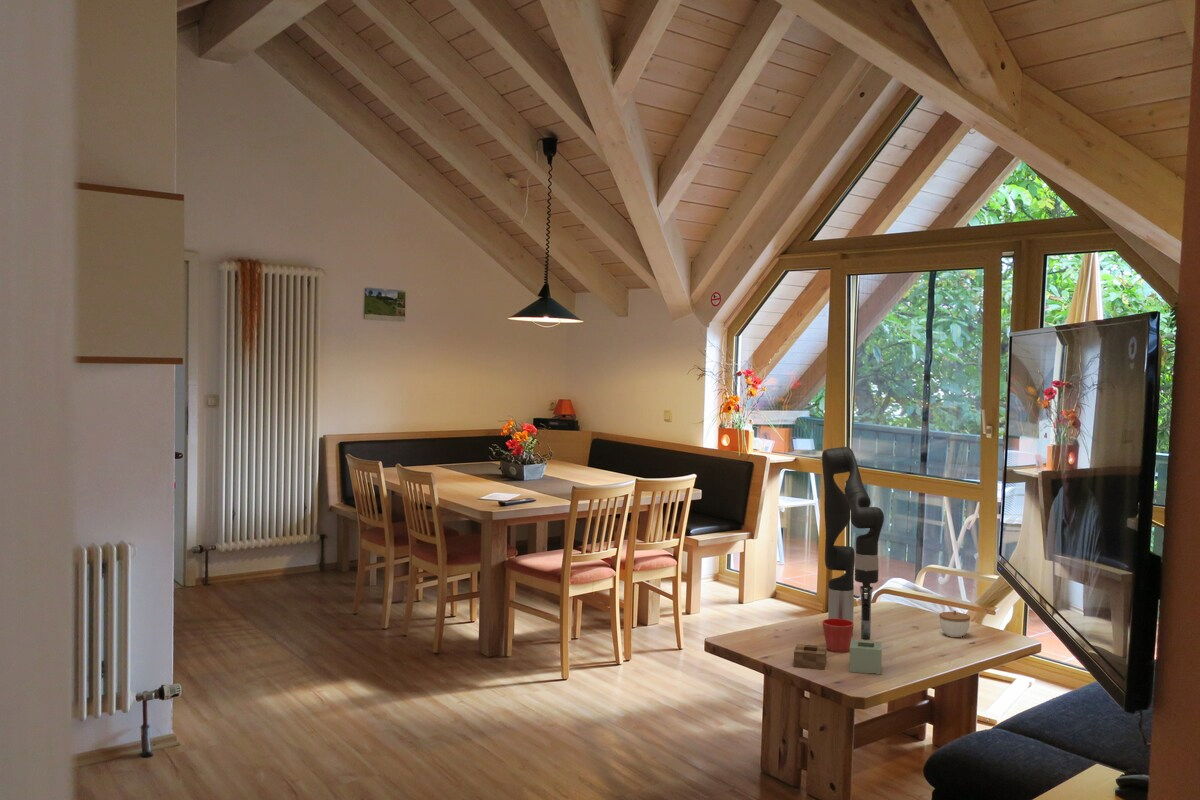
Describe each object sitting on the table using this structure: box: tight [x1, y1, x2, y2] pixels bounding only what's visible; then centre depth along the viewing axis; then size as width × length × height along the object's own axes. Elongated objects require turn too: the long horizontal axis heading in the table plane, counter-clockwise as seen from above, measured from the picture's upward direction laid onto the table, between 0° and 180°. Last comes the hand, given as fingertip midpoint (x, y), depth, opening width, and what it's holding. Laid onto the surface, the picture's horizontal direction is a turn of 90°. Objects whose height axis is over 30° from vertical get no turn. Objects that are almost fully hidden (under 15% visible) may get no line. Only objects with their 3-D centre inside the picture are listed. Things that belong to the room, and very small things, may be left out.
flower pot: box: [822, 618, 854, 653], centre depth 337 cm, size 11×11×10 cm
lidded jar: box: [939, 610, 971, 638], centre depth 356 cm, size 11×11×9 cm
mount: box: [793, 643, 828, 670], centre depth 319 cm, size 10×10×5 cm
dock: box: [849, 639, 883, 675], centre depth 314 cm, size 10×10×8 cm
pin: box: [860, 601, 872, 641], centre depth 314 cm, size 3×3×14 cm
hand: (866, 618), depth 314 cm, fingers closed on pin, 3 cm apart
